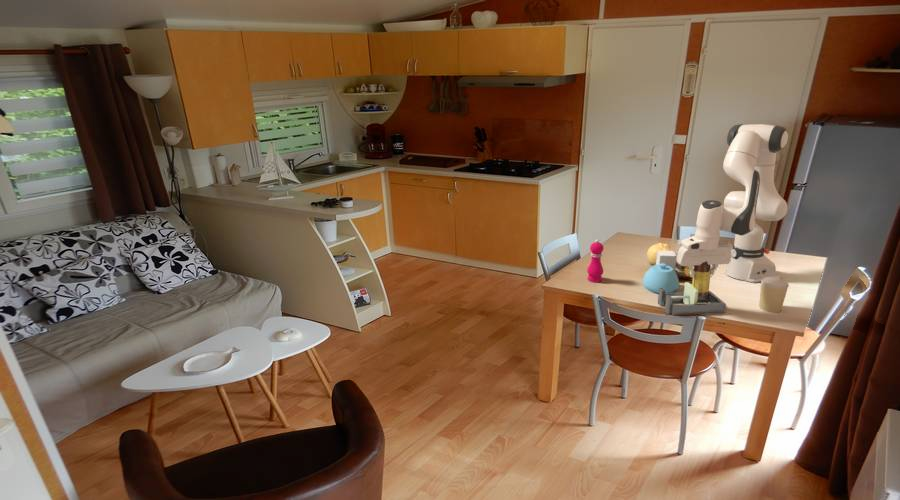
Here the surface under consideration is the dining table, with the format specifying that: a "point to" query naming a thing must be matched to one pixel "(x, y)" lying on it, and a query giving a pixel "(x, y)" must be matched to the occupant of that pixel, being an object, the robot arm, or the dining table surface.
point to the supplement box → (666, 258)
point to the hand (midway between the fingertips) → (701, 274)
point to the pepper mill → (595, 262)
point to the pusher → (688, 294)
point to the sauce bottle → (702, 278)
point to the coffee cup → (772, 294)
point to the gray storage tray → (686, 309)
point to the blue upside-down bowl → (661, 279)
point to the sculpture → (653, 252)
